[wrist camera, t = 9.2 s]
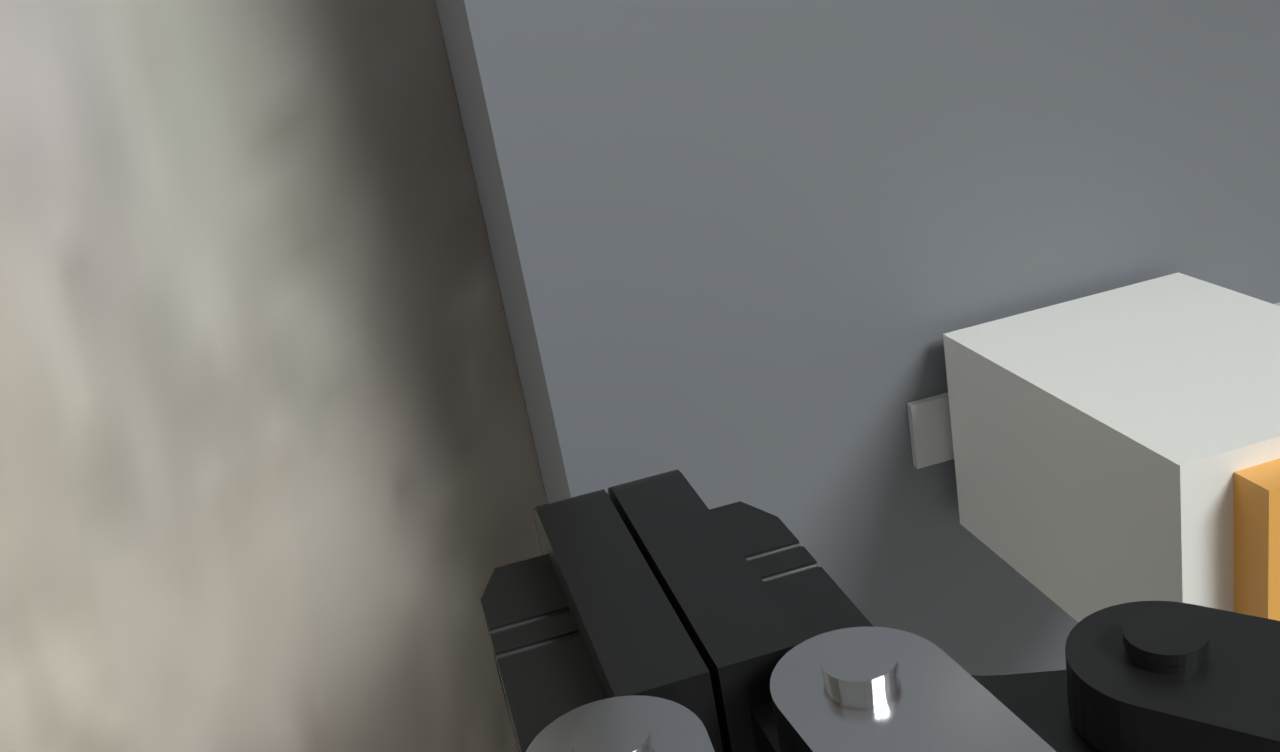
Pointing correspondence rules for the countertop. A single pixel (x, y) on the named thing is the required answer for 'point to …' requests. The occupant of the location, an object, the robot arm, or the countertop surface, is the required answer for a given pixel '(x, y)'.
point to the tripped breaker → (1126, 446)
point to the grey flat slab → (846, 242)
